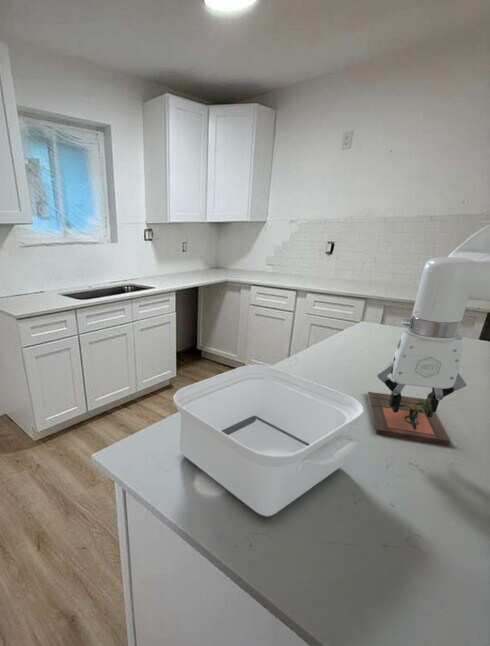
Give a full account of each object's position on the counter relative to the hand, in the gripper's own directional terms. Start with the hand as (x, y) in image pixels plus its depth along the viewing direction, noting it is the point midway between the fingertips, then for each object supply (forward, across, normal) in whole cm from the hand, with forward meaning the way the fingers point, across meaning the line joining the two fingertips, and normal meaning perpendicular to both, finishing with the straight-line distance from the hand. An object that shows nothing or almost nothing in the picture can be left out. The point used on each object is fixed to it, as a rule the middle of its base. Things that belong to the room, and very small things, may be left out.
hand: (410, 410), depth 74 cm
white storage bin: (+9, -28, -15) cm, 33 cm away
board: (+10, +3, +15) cm, 18 cm away
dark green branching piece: (+2, 0, 0) cm, 2 cm away
